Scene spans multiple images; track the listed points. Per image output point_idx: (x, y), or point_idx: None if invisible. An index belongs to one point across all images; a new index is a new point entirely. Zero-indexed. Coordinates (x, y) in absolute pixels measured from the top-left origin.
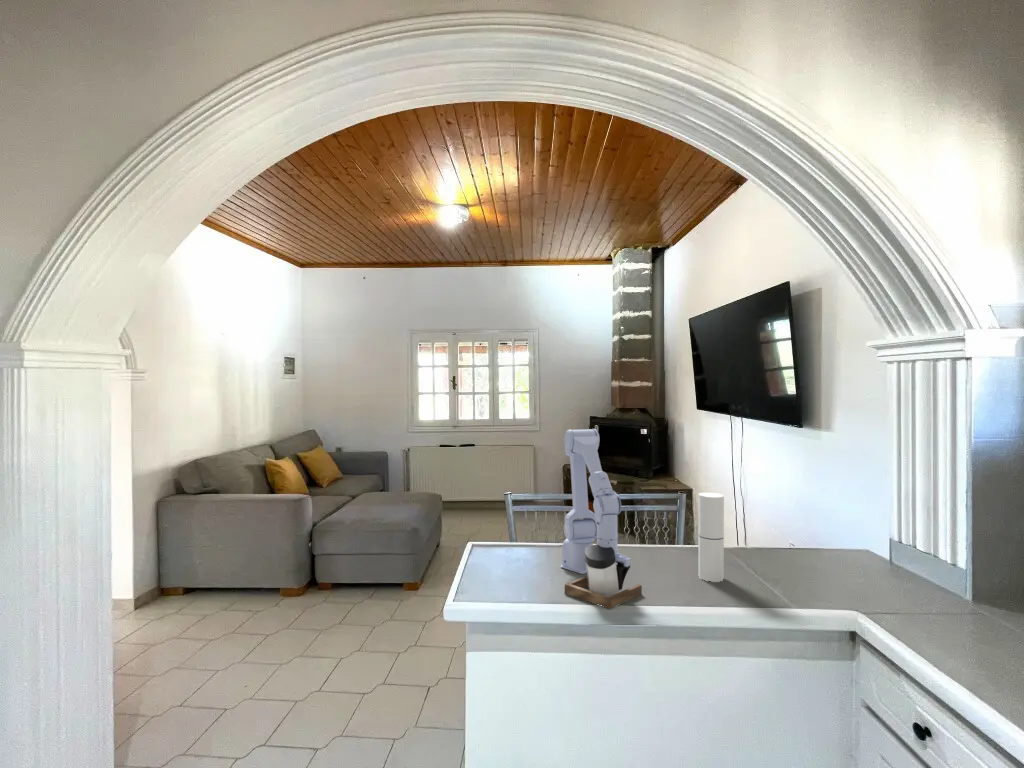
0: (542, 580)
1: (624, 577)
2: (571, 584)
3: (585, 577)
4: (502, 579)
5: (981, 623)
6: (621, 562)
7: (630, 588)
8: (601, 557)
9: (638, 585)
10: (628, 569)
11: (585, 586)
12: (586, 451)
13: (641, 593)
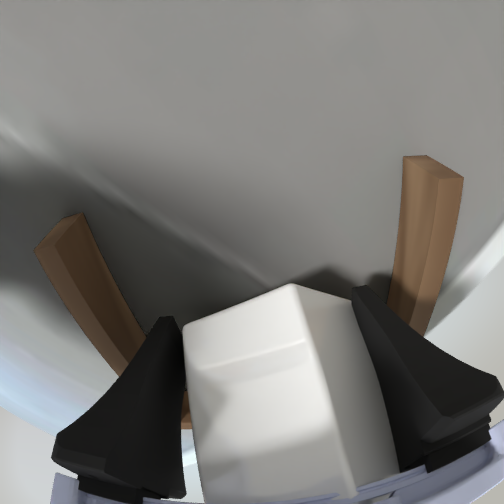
0: (47, 376)
1: (416, 338)
2: (185, 423)
3: (122, 363)
4: (41, 410)
5: None
6: (447, 469)
7: (430, 280)
8: None
9: (451, 200)
10: (472, 371)
11: (141, 331)
12: None
13: (429, 158)
